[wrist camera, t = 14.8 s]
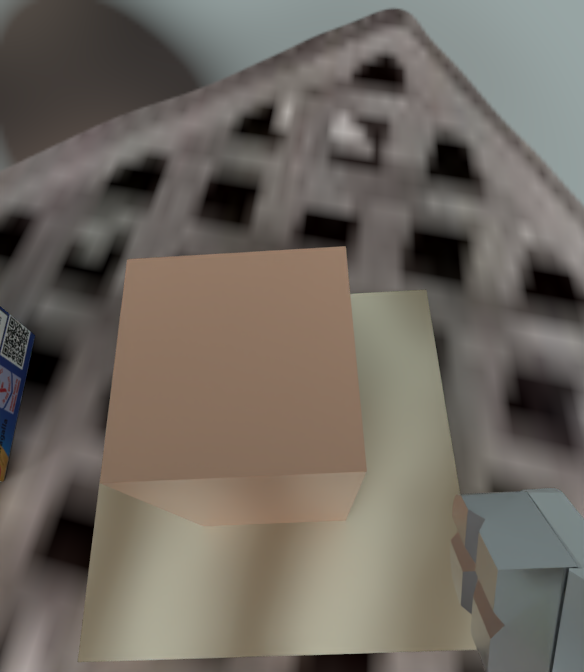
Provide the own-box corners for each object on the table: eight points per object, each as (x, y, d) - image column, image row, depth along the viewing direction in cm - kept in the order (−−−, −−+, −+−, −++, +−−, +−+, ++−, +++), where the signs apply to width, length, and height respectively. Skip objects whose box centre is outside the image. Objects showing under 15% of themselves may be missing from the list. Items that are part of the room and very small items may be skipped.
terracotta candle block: (203, 526, 19) (100, 483, 10) (208, 391, 22) (127, 259, 13) (345, 520, 19) (366, 471, 10) (335, 384, 22) (345, 246, 13)
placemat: (91, 657, 19) (77, 662, 18) (130, 318, 25) (121, 306, 24) (476, 644, 18) (486, 649, 17) (421, 302, 24) (426, 289, 23)
